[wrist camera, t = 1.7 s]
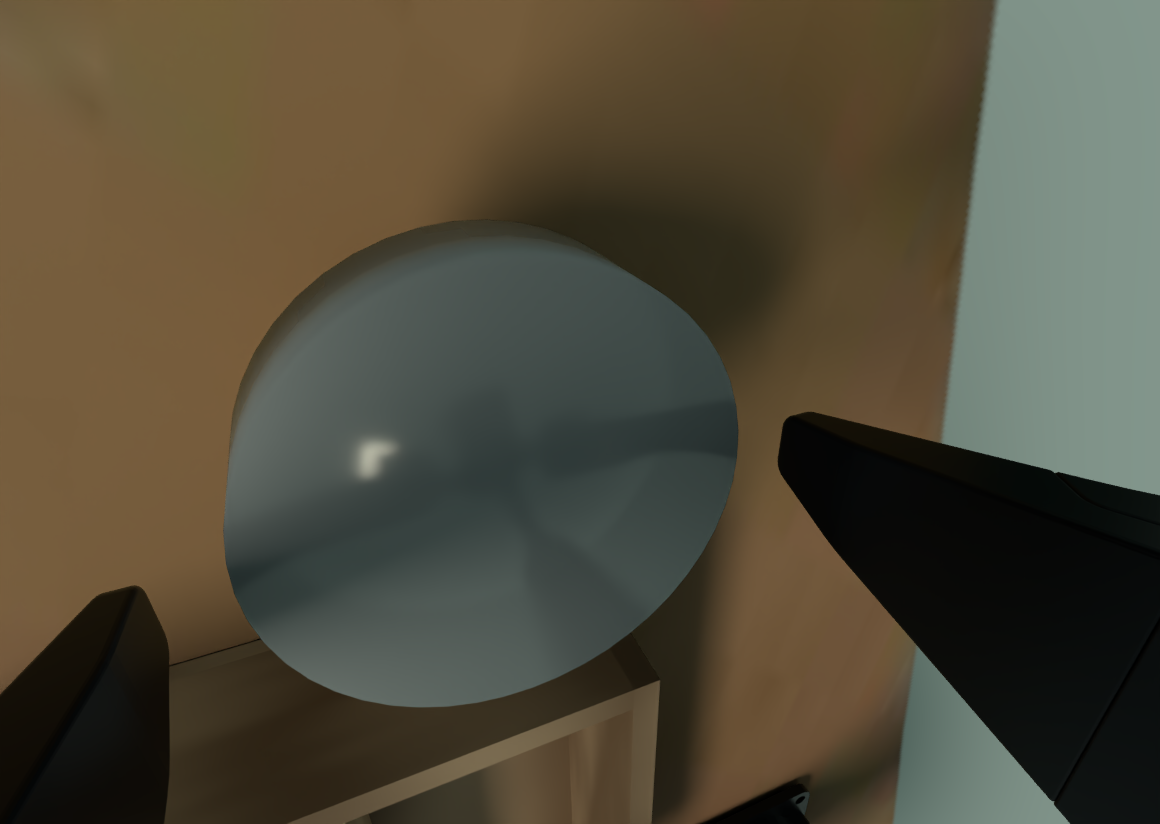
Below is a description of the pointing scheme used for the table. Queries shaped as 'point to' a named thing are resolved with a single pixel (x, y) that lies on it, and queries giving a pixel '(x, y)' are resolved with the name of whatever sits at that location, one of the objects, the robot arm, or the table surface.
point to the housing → (409, 748)
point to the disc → (471, 464)
